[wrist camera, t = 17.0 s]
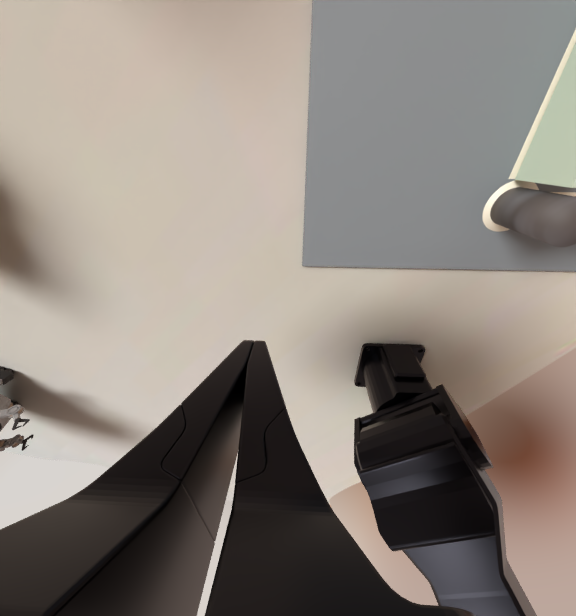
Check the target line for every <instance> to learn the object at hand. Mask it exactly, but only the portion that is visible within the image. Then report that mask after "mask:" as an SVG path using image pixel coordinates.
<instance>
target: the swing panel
mask: <svg viewBox="0 0 576 616" xmlns="http://www.w3.org/2000/svg"><path fill="white" fill-rule="evenodd" d="M515 180H521V181H527V182H534V183H541V184H548V185H555V186H562V187H569V188H576V43H575V45H574V47H573V50H572V52H571V54H570V56H569V59H568V61H567V63H566V65H565V68H564V70H563V72H562V74H561V77H560V79H559V81H558V83H557V86H556V88H555V90H554V92H553V95H552V97H551V99H550V101H549V104H548V106H547V108H546V110H545V113H544V115H543V117H542V119H541V122H540V124H539V126H538V128H537V131H536V133H535V135H534V137H533V140H532V142H531V144H530V146H529V149H528V151H527V153H526V155H525V158H524V160H523V162H522V164H521V167H520V169H519V171H518V173H517V176H516V178H515Z"/></svg>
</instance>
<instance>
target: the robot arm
mask: <svg viewBox="0 0 576 616" xmlns="http://www.w3.org/2000/svg"><path fill="white" fill-rule="evenodd" d="M366 348H367V349H366ZM424 353H425V348H424V346H422V345H407V344H373V343H366V344H364V345H363V346H362V350H361V354H360V358H359V363H358V367H357V371H356V376H355V380H354V383H355V385H356V386H358V387H366V388H367V392H368V396H369V399H370V403H371V406H372V410H373V413H372V414H370V415H367V416H365V417H362V418H360V417H359V418H357V419H355V430H354V464H355V467H356V469H357V473H358V475H359V477H360V479H361V481H362V483H363V485H364V486H365V489H366V490H367V492H368V495H369V497H370V500H371V504H372V507H373V510H374V514H375V518H376V522H377V526H378V530H379V532H380V534H381V536H382V538H383V539H384V541H385V542H386V544H387V545H388V546H389V548H390V549H391V550H392V551H398V550H402V551H403V552H404V553H405V554H406V555H407V556H408V558H409V559H410V560H411V561H412V562H413V563H414V565H415V566H416V567H417V568H418V569H419V571H420V572H421V573H422V574H423V575H424V576H425V578H426V579H427V580H428V581H429V583H430V585H431V587H432V590H433V592H434V595H435V597H436V600H437V602H438V605H439V606H431V605H420V604H416V603H412V602H410V601H408V600H406V599H405V598H403V597H401V596H400V595H399V594H397V593H396V592H395V591H394V590H392V589H391V588H390V586H389V585H388V584H387V583H386V582H385V581H384V580H383V578H382V577H381V576H380V574H379V573H378V572H377V570H376V569H375V568H374V566H373V565H372V564H371V562H370V561H369V560H368V558H367V557H366V555H365V554H364V553H363V551H362V550H361V549H360V547H359V546H358V545H357V543H356V542H355V541H354V539H353V538H352V537H351V535H350V534H349V533H348V531H347V530H346V528H345V527H344V526H343V524H342V523H341V522H340V520H339V519H338V518H337V516H336V515H335V514H334V512H333V510H332V508H331V507H330V505H329V503H328V502H327V500H326V498H325V496H324V494H323V492H322V490H321V488H320V486H319V484H318V482H317V480H316V478H315V476H314V474H313V472H312V470H311V467H310V465H309V463H308V461H307V459H306V457H305V455H304V453H303V451H302V449H301V446H300V444H299V442H298V439H297V437H296V435H295V432H294V430H293V427H292V424H291V421H290V418H289V415H288V412H287V409H286V406H285V403H284V400H283V396H282V393H281V390H280V387H279V384H278V380H277V377H276V374H275V371H274V368H273V365H272V361H271V358H270V355H269V352H268V349H267V345H266V342H265V341H255V342H254V341H252V340H244V341H242V342H241V343H240V344H239V345H238V346H237V347H236V348H235V349H234V350H233V351H232V352H231V353H230V354H229V355H228V356H227V357H226V358H225V359H224V361H223V362H222V363H221V364H220V365H219V366H218V367H217V368H216V369H215V370H214V371H213V372H212V373H211V374H210V375H209V376H208V377H207V378H206V379H205V380H204V381H203V382H202V383H201V384H200V385H199V386H198V387H197V388H196V389H195V390H194V391H193V392H192V393H191V394H190V395H189V396H188V397H187V398H186V399H185V400H184V401H183V402H182V403H181V405H182V406H181V405H179V406H178V407H177V408H176V409H175V410H174V411H173V412H172V413H171V414H170V415H169V416H168V417H167V418H166V419H165V420H164V421H163V422H162V423H161V424H160V425H159V426H158V427H157V428H155V429H154V430H153V431H152V432H151V433H150V434H149V435H148V436H146V437H145V438H144V439H143V440H142V441H141V442H140V443H138V444H137V445H136V446H135V447H134V448H133V449H131V450H130V451H129V452H128V453H127V454H126V455H124V456H123V457H122V458H121V459H120V460H119V461H117V462H116V463H115V464H114V465H113V466H112V467H110V468H109V469H108V470H107V471H106V472H105V473H103V474H102V475H101V476H100V477H99V478H97V480H95V481H94V482H93V483H91V484H90V485H88V486H87V487H86V488H85V489H83V490H81V491H80V492H78V493H77V494H75V495H73V496H71V497H70V498H68V499H66V500H64V501H62V502H60V503H58V504H55V505H53V506H51V507H49V508H47V509H45V510H42V511H40V512H38V513H36V514H34V515H32V516H29V517H27V518H25V519H23V520H20V521H18V522H16V523H14V524H12V525H9V526H7V527H5V528H3V529H1V530H0V616H196V615H197V611H198V608H199V603H200V600H201V596H202V592H203V588H204V584H205V580H206V576H207V571H208V568H209V564H210V560H211V556H212V552H213V548H214V541H215V540H216V536H217V532H218V528H219V524H220V520H221V516H222V512H223V508H224V504H225V500H226V496H227V492H228V488H229V484H230V480H231V476H232V472H233V468H234V464H235V460H236V456H237V453H238V459H237V469H236V479H235V484H236V485H235V490H234V498H233V504H232V510H231V515H230V518H229V523H228V526H227V530H226V535H225V538H224V542H223V546H222V550H221V554H220V558H219V562H218V566H217V570H216V574H215V578H214V581H213V585H212V589H211V594H210V597H209V601H208V605H207V609H206V613H205V616H537V615H536V613H535V611H534V610H533V608H532V606H531V604H530V602H529V600H528V598H527V597H526V595H525V593H524V591H523V589H522V587H521V586H520V584H519V582H518V580H517V578H516V576H515V574H514V573H513V571H512V569H511V567H510V565H509V563H508V561H507V558H506V547H505V535H504V523H503V509H502V500H501V497H500V495H499V493H498V492H497V490H496V488H495V486H494V485H493V483H492V481H491V480H490V478H489V476H488V475H487V473H486V471H485V469H489V468H493V465H492V463H491V461H490V459H489V457H488V455H487V453H486V451H485V449H484V447H483V445H482V443H481V441H480V439H479V437H478V435H477V434H476V432H475V430H474V429H473V427H472V426H471V424H470V423H469V421H468V419H467V418H466V416H465V415H464V413H463V412H462V410H461V409H460V407H459V406H458V405H457V403H456V402H455V401H454V399H453V398H452V397H451V395H450V394H449V393H448V391H447V390H446V389H445V387H444V386H443V385H439V386H437V387H436V388H435V389H432V387H431V385H430V383H429V382H428V380H427V378H426V374H425V372H424V370H423V368H422V367H421V365H420V362H421V360H422V358H423V355H424Z"/></svg>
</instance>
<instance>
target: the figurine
mask: <svg viewBox="0 0 576 616" xmlns="http://www.w3.org/2000/svg"><path fill="white" fill-rule="evenodd" d="M12 379H13V373H12V370H11V369H6V370H4V367H0V385H2V384H3V385H4V384H6V383H7V382H9V381H10V380H12ZM23 411H24V407H22V406H21V405H17V402H12V403H11V399H9V398H7V397H5V396H3V395H1V394H0V431H1V430H2V429H3V428H4V426H5V425H6V424H7V423H8V421H9V420H10V419H11V418H13V419H14V422H15V423H14V426H13V428H12V430H15V429H17V428H19V427H21V426H18V427H16V426H17V424H18V422H25V423H24V425H25V424H26V423H27V422H29V421H30V420H29V419H21V418H20V414H21V413H23ZM24 425H23V426H24ZM29 438H31V439H32V438H33V435H31V436H29V437H28V438H26V439H25V440H24V436H21V435H16V436H15V437H13V438H11V439H2V440H0V451H3V450H5V448H8V447H10V446H12V447H13V448H14V447H16V446H18V445H19V444H23V446H22V451H23V450H24V449H25V448H26V447H27V446H28V445H27V446H26V447H25V445H26V442H27V440H28V439H29Z"/></svg>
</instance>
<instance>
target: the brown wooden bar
mask: <svg viewBox="0 0 576 616" xmlns="http://www.w3.org/2000/svg"><path fill="white" fill-rule="evenodd" d="M490 217H491V220H492V221H493V222H494V223H495V224H498V225H500V226H503V227H505V228H508V229H511V230H513V231H516V232H518V233H521V234H524V235H526V236H529V237H531V238H534V239H537V240H539V241H542V242H544V243H547V244H550V245H552V246H555V247H568V246H571V245H574V244H576V196H569V195H563V194H557V193H552V192H546V191H540V190H535V189H529V188H523V187H516V188H512V189H509V190H507V191H506V192H504V193H503V194H501V195H500V196H499V197H498V198H497V199H496V201H495V202H494V204H493V206H492V208H491V211H490Z"/></svg>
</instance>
